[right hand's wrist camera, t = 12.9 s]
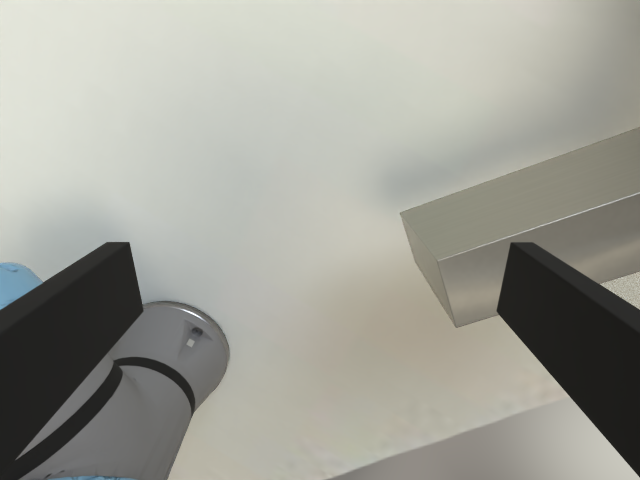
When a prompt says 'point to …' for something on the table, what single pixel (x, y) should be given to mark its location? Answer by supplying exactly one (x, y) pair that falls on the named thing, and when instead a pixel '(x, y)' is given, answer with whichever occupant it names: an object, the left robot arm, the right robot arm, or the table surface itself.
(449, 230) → the bar
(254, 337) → the table surface
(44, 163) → the table surface
